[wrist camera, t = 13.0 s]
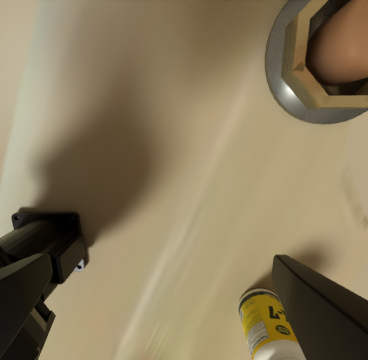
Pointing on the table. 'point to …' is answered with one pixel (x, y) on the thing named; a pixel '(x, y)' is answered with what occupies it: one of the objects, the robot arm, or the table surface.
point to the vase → (340, 46)
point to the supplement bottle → (267, 327)
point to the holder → (298, 73)
